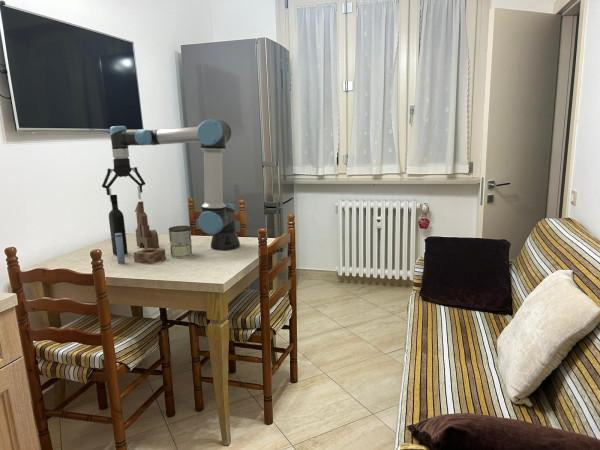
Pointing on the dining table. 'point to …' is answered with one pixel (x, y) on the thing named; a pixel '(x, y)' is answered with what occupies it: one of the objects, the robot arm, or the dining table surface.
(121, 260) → the grey rod
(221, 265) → the dining table surface
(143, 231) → the wooden toy
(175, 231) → the glass jar
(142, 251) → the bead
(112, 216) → the wine bottle
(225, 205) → the robot arm
